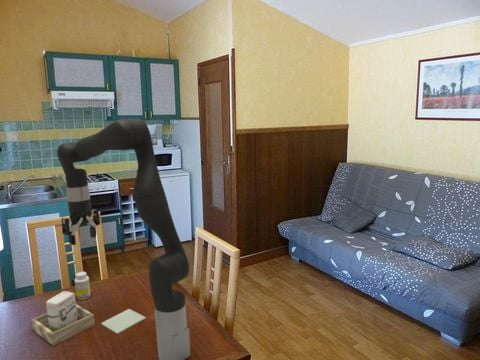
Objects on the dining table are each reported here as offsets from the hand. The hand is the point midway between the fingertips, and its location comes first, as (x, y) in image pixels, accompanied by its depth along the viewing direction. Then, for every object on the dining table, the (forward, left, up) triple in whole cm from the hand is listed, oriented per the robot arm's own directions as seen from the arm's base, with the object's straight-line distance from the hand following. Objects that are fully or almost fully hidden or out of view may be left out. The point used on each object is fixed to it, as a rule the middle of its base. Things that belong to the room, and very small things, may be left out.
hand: (83, 240), depth 139 cm
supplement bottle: (+13, -4, -29) cm, 32 cm away
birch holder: (-2, +12, -28) cm, 31 cm away
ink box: (-2, +12, -29) cm, 31 cm away
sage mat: (-16, -3, -28) cm, 33 cm away
